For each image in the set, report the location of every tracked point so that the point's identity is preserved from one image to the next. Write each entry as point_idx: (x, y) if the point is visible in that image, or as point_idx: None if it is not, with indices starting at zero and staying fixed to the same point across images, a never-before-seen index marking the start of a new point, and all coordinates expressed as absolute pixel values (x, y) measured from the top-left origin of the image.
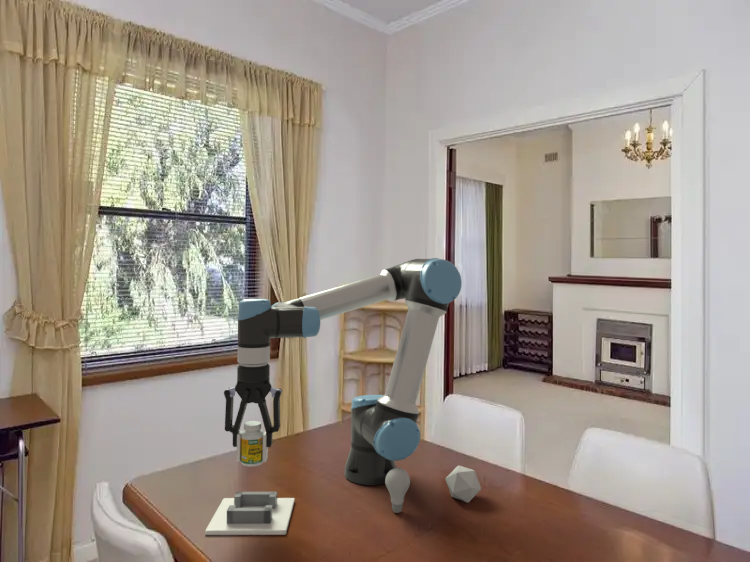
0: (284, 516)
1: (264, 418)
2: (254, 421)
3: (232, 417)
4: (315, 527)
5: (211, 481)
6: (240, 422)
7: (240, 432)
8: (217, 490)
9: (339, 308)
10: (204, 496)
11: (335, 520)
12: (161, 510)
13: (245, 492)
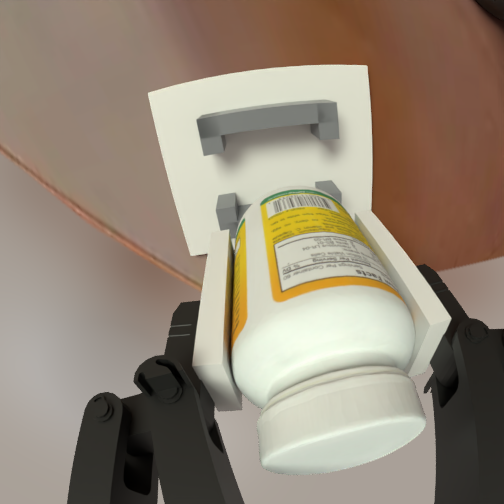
0: (360, 171)
1: (451, 476)
2: (363, 437)
3: (115, 491)
4: (420, 193)
5: (69, 4)
6: (238, 490)
7: (219, 385)
8: (103, 38)
9: None
10: (87, 81)
11: (454, 163)
12: (45, 177)
13: (228, 119)
